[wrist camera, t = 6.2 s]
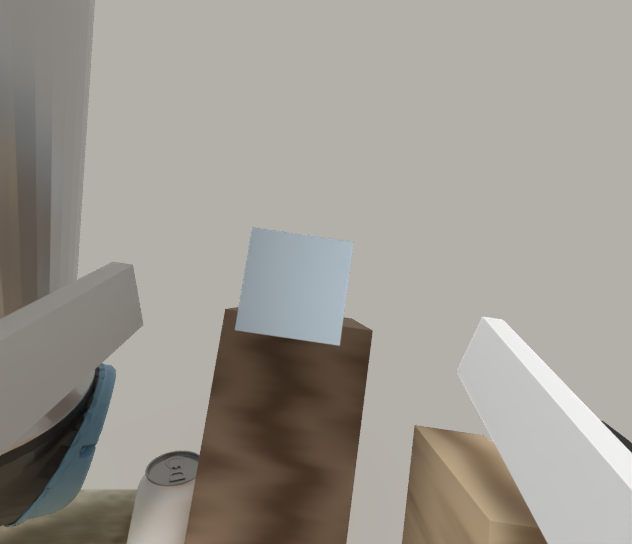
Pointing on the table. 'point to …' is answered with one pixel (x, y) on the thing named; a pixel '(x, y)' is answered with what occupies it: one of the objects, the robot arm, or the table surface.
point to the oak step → (463, 493)
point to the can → (164, 500)
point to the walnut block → (280, 439)
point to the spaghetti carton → (295, 286)
